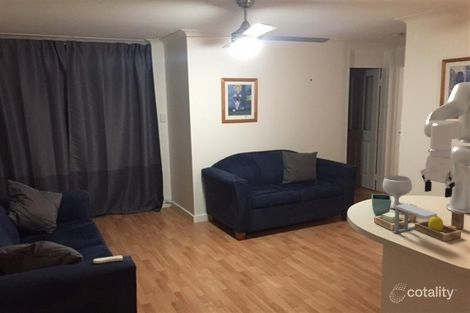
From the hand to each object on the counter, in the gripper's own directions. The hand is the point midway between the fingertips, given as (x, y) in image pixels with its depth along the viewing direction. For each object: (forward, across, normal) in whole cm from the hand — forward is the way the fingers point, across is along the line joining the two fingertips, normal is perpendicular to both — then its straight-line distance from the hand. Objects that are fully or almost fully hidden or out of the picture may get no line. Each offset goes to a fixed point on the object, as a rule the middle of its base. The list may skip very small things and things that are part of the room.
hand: (437, 194), depth 157 cm
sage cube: (+18, -17, -8) cm, 26 cm away
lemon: (+18, 0, 0) cm, 18 cm away
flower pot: (+18, -29, -2) cm, 34 cm away
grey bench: (+17, -2, -3) cm, 18 cm away
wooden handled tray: (+17, 0, +5) cm, 18 cm away
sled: (+17, -17, -4) cm, 24 cm away
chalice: (+17, -35, +13) cm, 41 cm away
